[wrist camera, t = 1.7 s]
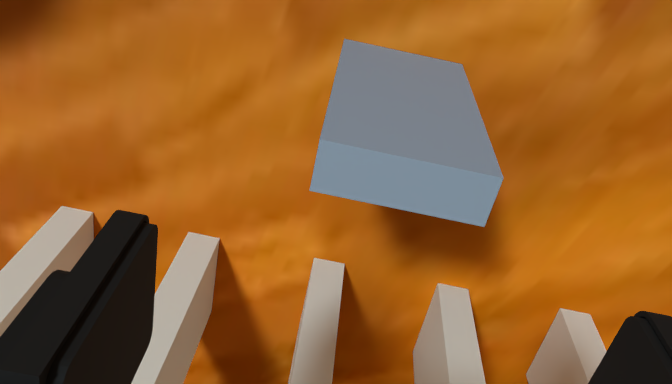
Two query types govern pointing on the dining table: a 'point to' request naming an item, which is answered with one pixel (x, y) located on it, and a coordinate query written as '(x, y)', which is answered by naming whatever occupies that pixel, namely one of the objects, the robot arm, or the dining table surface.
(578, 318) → the tile
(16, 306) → the tile
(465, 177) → the tile
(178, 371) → the tile
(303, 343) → the tile
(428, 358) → the tile
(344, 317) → the dining table surface
